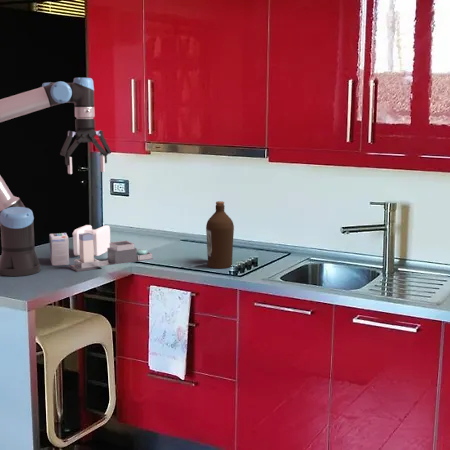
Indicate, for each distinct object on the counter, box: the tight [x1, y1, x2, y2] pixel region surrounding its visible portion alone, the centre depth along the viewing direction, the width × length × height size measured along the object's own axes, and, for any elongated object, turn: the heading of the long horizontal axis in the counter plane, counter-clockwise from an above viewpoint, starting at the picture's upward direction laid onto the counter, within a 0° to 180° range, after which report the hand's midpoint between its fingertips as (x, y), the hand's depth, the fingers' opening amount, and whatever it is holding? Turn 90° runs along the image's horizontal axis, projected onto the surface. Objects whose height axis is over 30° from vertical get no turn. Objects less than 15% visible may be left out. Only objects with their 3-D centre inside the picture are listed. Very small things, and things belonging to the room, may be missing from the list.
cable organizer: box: [72, 224, 111, 257], centre depth 286 cm, size 15×11×12 cm
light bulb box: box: [48, 232, 70, 266], centre depth 273 cm, size 11×7×11 cm, turn 18°
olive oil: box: [205, 200, 235, 270], centre depth 266 cm, size 11×11×25 cm
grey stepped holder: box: [69, 240, 154, 273], centre depth 269 cm, size 32×8×8 cm, turn 123°
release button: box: [137, 248, 148, 255], centre depth 276 cm, size 4×4×2 cm
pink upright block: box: [79, 233, 95, 263], centre depth 264 cm, size 4×5×12 cm
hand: (86, 172), depth 273 cm, fingers open, 13 cm apart
